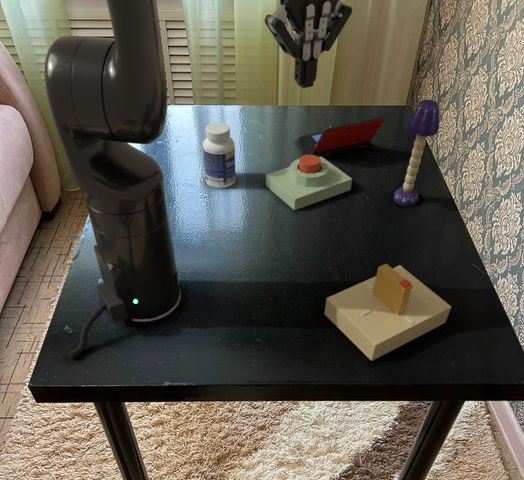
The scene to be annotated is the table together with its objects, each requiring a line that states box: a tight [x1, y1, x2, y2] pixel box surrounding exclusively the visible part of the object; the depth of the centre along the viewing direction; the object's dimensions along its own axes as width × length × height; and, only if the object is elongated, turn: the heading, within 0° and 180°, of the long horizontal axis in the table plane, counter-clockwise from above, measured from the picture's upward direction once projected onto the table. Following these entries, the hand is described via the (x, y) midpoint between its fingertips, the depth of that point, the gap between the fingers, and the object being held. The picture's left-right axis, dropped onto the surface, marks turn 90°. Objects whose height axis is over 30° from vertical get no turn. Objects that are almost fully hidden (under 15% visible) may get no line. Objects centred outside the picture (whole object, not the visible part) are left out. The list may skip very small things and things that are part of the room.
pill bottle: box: [202, 122, 236, 189], centre depth 92 cm, size 5×5×10 cm
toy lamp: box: [392, 99, 440, 207], centre depth 86 cm, size 5×5×17 cm
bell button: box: [299, 154, 321, 174], centre depth 91 cm, size 4×4×2 cm
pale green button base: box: [265, 157, 353, 211], centre depth 93 cm, size 12×9×4 cm
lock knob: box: [373, 263, 413, 315], centre depth 69 cm, size 5×1×5 cm, turn 32°
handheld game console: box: [297, 117, 385, 158], centre depth 101 cm, size 12×11×7 cm
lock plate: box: [324, 265, 452, 362], centre depth 72 cm, size 13×10×3 cm
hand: (304, 85), depth 76 cm, fingers closed
